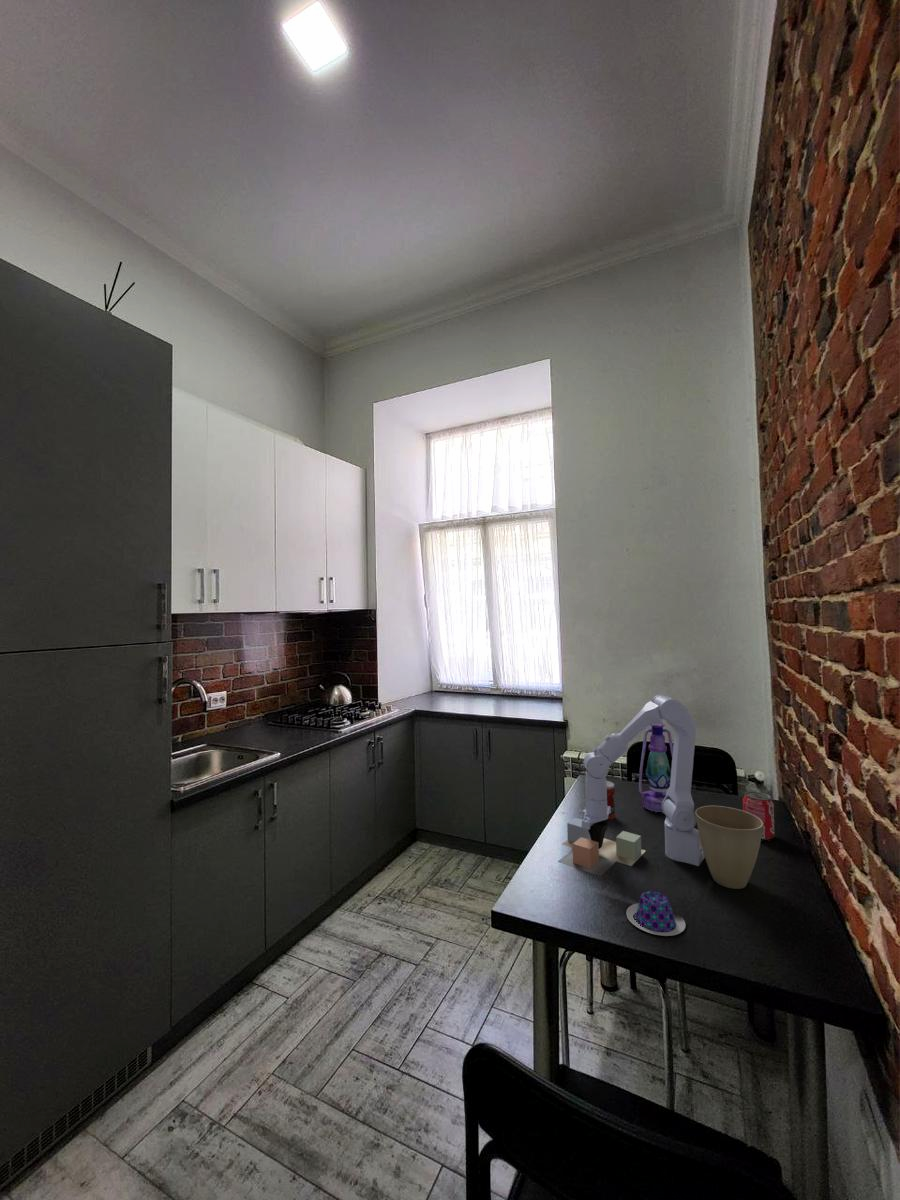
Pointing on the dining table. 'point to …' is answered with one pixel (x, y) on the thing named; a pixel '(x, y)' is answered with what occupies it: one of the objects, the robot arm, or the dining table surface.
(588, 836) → the blue block
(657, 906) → the patterned fedora hat
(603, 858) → the board
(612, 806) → the canned food
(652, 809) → the lantern
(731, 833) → the plant pot
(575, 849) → the terracotta block
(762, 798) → the beverage can
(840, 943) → the dining table surface
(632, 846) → the sage block
